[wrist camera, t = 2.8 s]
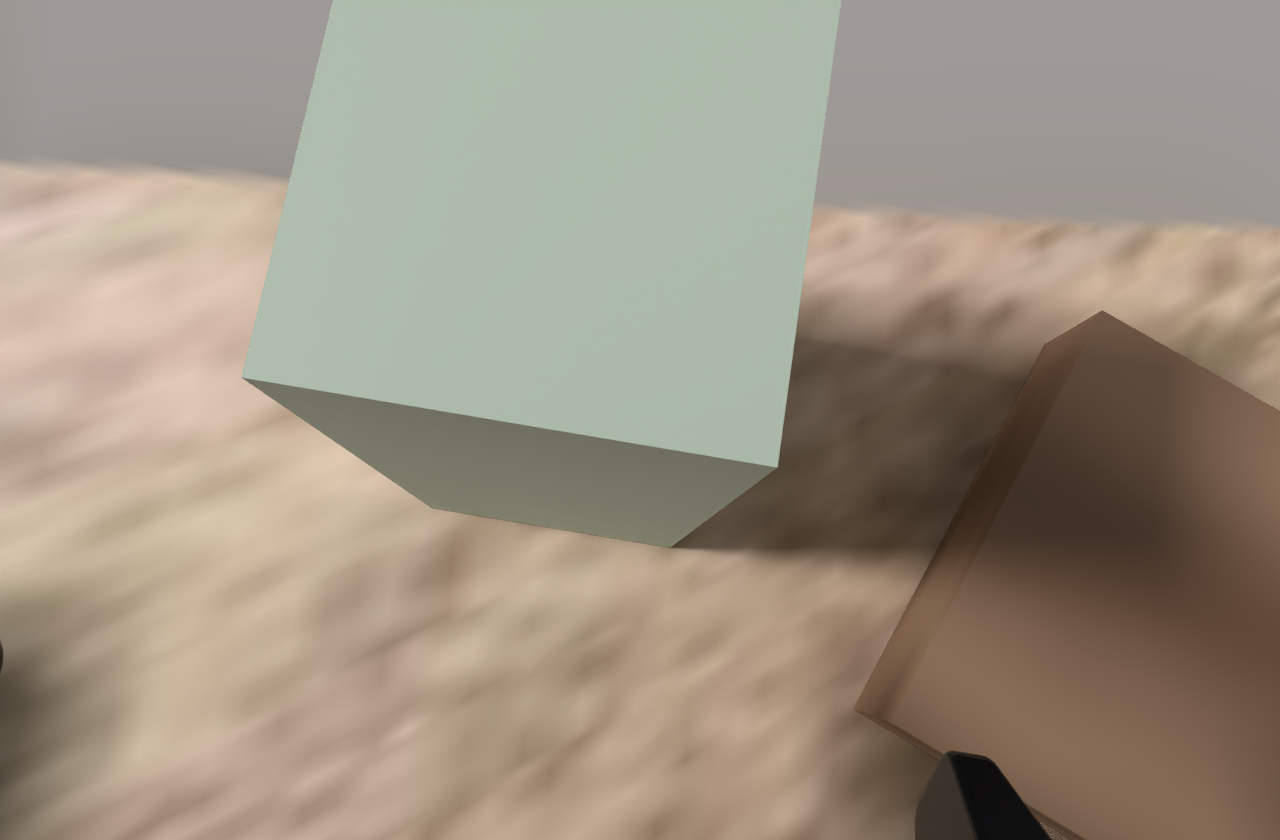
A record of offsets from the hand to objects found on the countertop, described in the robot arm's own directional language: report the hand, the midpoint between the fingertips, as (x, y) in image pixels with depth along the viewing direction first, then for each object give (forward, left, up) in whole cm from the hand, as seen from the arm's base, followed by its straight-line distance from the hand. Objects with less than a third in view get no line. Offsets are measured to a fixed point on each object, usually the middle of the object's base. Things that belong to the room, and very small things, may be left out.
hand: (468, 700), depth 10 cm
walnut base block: (-3, -12, -12) cm, 17 cm away
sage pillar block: (+5, -2, -11) cm, 12 cm away
